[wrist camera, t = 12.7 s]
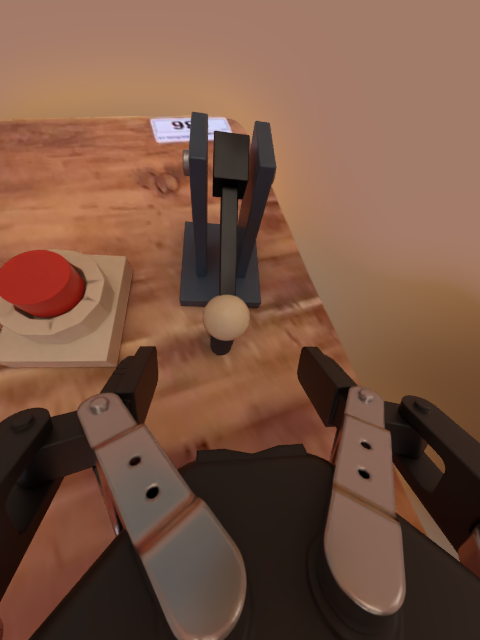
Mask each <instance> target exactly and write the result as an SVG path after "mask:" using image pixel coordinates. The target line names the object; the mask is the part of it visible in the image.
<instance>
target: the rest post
mask: <svg viewBox="0 0 480 640" xmlns="http://www.w3.org/2000/svg"><path fill="white" fill-rule="evenodd" d="M233 341H234V340H230V341H223V340H219V339H216V338H214V337H213V336H212V335H211V342H210V347H211V350H212V351H213V352H214V353H215V354H217V355H225V354H227V353H228V352H229V351H230V349H231V346H232V344H233Z"/></svg>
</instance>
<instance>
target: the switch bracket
mask: <svg viewBox="0 0 480 640" xmlns="http://www.w3.org/2000/svg"><path fill="white" fill-rule="evenodd" d="M183 171H184V175H185V176H190V190H191V204H192V218H193V222H185V232H184V246H183V260H182V273H181V287H180V304H181V306H206V305H207V304H208V302H209V301H210V300H211V299H213V298H214V297H216V296H218V295H219V258H220V224H210V223H207V192H208V115H207V114H204V113H197V112H192V116H191V129H190V142H189V150H183ZM275 173H276V162H275V156H274V149H273V143H272V135H271V128H270V123H267V122H259V121H256V122H255V125H254V131H253V137H252V143H251V149H250V155H249V181H248V184H247V187H246V190H245V194H244V197H243V199H242V203H241V209H240V215H239V221H238V226H237V266H236V296H237V297H239V298H240V299H242V300H243V301H244V302H245V304H246V305H247V307H250V308H259V306H260V304H261V297H260V285H259V273H258V260H257V248H256V238H257V234H258V231H259V227H260V224H261V220H262V217H263V213H264V210H265V206H266V202H267V199H268V195H269V192H270V188H271V185H272V183H273V181H274V178H275Z"/></svg>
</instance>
